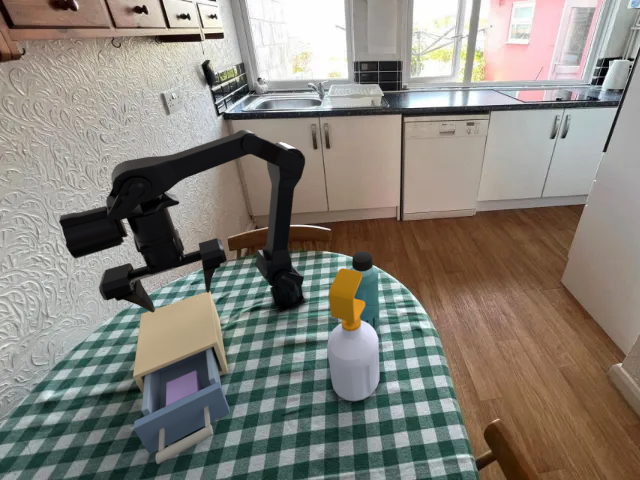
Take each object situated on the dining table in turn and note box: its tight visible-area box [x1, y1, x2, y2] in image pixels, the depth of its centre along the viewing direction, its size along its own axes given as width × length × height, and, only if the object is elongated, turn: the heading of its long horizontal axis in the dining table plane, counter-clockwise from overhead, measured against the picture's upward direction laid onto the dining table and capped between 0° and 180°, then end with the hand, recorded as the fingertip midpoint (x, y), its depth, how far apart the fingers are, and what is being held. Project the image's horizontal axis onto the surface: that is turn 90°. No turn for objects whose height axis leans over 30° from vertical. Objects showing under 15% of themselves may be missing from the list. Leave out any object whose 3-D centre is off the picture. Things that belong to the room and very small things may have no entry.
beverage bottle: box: [349, 250, 381, 332], centre depth 65 cm, size 6×7×20 cm
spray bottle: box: [326, 267, 380, 402], centre depth 54 cm, size 9×9×25 cm
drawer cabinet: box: [132, 291, 229, 395], centre depth 62 cm, size 16×13×9 cm
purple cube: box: [166, 370, 203, 406], centre depth 53 cm, size 4×4×4 cm
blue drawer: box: [133, 346, 230, 465], centre depth 53 cm, size 19×11×7 cm, turn 31°
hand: (181, 300), depth 61 cm, fingers open, 9 cm apart
